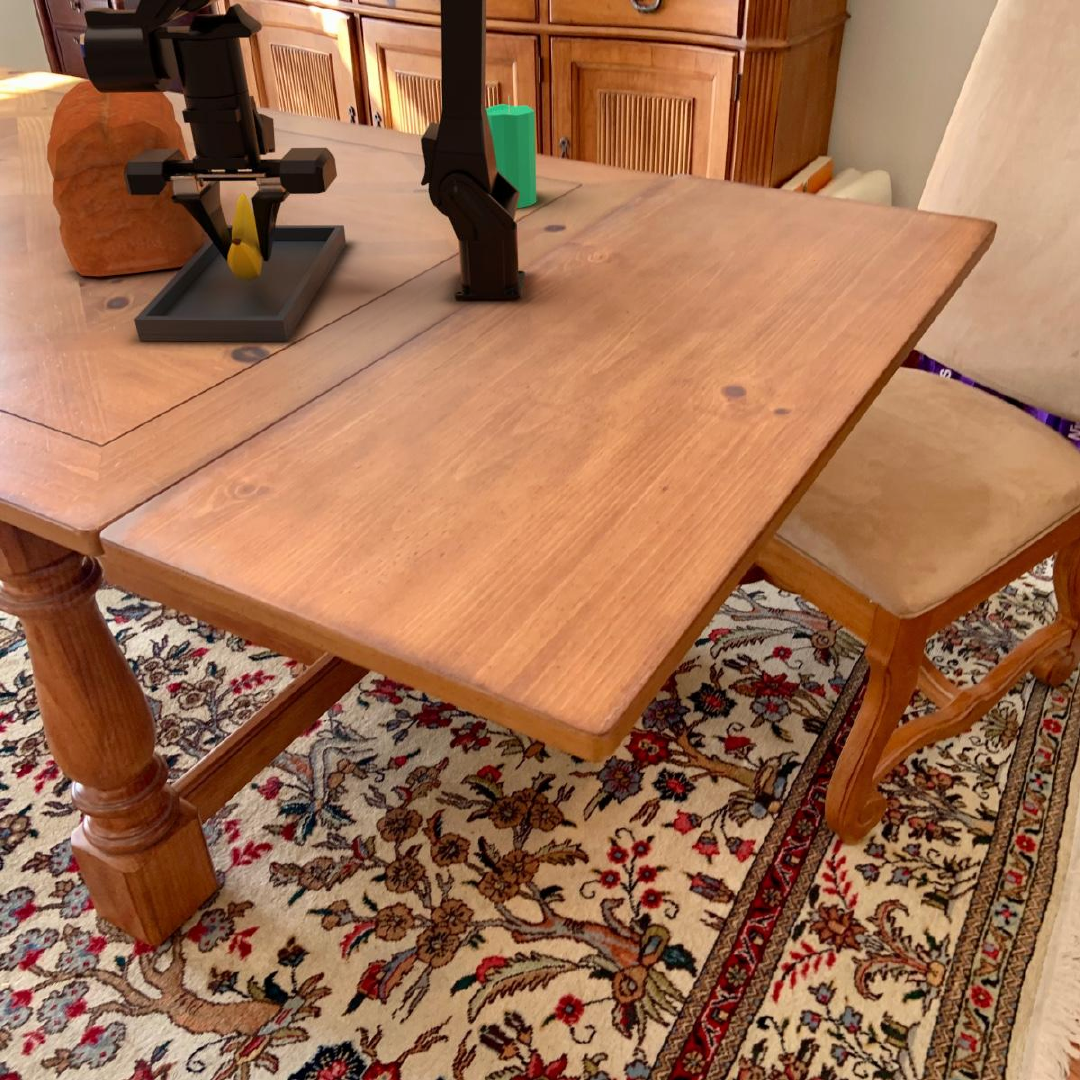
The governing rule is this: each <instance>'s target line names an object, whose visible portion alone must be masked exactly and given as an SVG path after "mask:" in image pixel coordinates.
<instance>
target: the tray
mask: <svg viewBox="0 0 1080 1080" xmlns="http://www.w3.org/2000/svg"><path fill="white" fill-rule="evenodd" d="M226 225H227V224H226ZM227 228H228V232H229V236H230V240H231V244H232V228H233V224H232V225H231V224H229V225H227ZM346 245H347V239H346V233H345V226H344V224H337V225H335V224H330V225H329V224H327V225H326V224H321V225H320V224H316V225H315V224H314V225H313V224H312V225H311V224H306V225H305V224H301V225H299V224H298V225H297V224H295V225H293V224H291V225H290V224H285V225H283V224H281V225H280V224H279V225H278V224H276V226H275V232H274V238H273V245H272V251H271V257H270V259H269V260H268V261H264V260H263V257H262V267H261V273H260V276H258V277H256V278H254V279H252V280H250V281H247V280H243V279H240V278H237V277H235V275H234V273H233V272H232V270H231V268H230V267H229V265H228V261H226V260H225V258H224V257H223V256H222V254H221V253H220V251H219V250H218V249H217V247H216V246H215V244H214V243H213V242H212V240H211V239H210V238H209V239H208V240H207V241H206V242H205V243H203V246H202V247H201V248H200V250H199V251H198V252H197V253H196V254H195V255H194V256H193V257H192V258H191V259H190V260H189V261H188V262H187V263H186V264H185V265H184V266H182V267H181V269H179V270H178V271H177V272H176V274H175V275H174V276H173V277H172V278H171V279H170V280H169V281H168V282H167V284H166V285H165V286H164V287H163V288H162V289H161V290H160V291H159V292H158V293H157V294H156V295H155V296H154V298H153V299H151V300H150V302H149V303H148V304H147V305H146V306H145V307H144V308H143V310H141V311H140V312H139V313H138V315H136V316H135V317H134V319H133V321H134V325H135V329H136V332H137V336H138V340H139V341H140V342H258V343H259V342H268V343H269V342H278V343H279V342H282V343H283V342H284V343H287V342H288V340H289V338H290V337H291V335H292V334H293V332H294V331H295V329H296V327H297V325H298V324H299V322H300V321H301V319H302V317H303V316H304V315H305V313H306V311H307V309H308V308H309V306H310V305H311V303H312V301H313V299H314V298H315V296H316V294H317V293H318V291H319V289H320V288H321V286H322V284H323V283H324V281H325V279H326V278H327V277H328V276H329V275H328V274H329V273H330V272H331V270H332V268H333V266H334V265H335V263H336V262H337V260H338V258H339V257H340V255H341V253H342V252H343V250H344V248H345V247H346Z"/></svg>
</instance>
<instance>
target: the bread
mask: <svg viewBox="0 0 1080 1080" xmlns="http://www.w3.org/2000/svg"><path fill="white" fill-rule="evenodd" d="M184 138H185V137H184V135H183V130H182V127H181V125H180V124H179V123H178V121H177V120H176V113H175V110H174V105H173V103H172V102H171V100H169V98H168V97H167V96H166V95H165V93H164V92H135V93H101V92H99V91H98V90H97V89H96V88H95V87H94V86H93V84H92V82H91V81H89V80H85V81H80V82H78V83H76V84H75V85H74V86H73V87H72V88H71V89H70V90H69V91H67V92H66V93H65V94H64V95H63V96H62V98H61V100H60V102H59V103H58V104H57V105H56V107H55V111H54V113H53V117H52V123H51V126H50V131H49V139H48V143H47V145H46V146H47V147H46V161H47V164H48V167H49V170H50V172H51V175H52V178H53V180H52V204H53V206H54V208H55V210H56V212H57V213H58V215H59V220H60V223H59V226H58V227H59V228H58V229H59V234H60V238H61V239H60V240H61V243H62V246H63V249H64V250H65V253H66V255H67V257H68V259H69V261H70V264H71V266H72V268H73V269H74V271H76V272H77V273H78V274H79V275H81V276H84V277H85V276H87V277H108V276H116V275H128V274H136V273H145V272H150V271H151V272H152V271H159V270H167V269H173V268H174V269H175V268H182V267H184V266H185V264H186V263H187V262H188V261H189V260H190V259H191V258H192V257H193V256H194V255H195V254H196V253H197V252H198V251H199V250H200V248H201V247H202V246H203V245H204V239H203V231H202V227H201V226H200V224H199V223H198V222H197V221H196V220H195V219H194V218H193V216H192V215H191V214H190V213H189V212H188V211H187V210H186V209H185V207H184V206H183V205H182V204H175V203H173V202H172V199H171V197H172V196H173V195H174V191H173V187H172V182H166V183H167V185H166V186H165V188H164V189H163V191H162V192H161V193H160V194H159V195H130V194H128V191H127V187H126V183H125V179H124V168H125V166H126V164H127V163H128V162H129V161H130V160H131V159H133V158H134V157H135V156H137V155H138V154H140V153H141V152H142V151H144V150H145V149H180V151H181V152H182V153H183V155H184V156H185V160H190V158H189V154H188V150H187V146H186V142H185V139H184Z"/></svg>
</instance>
